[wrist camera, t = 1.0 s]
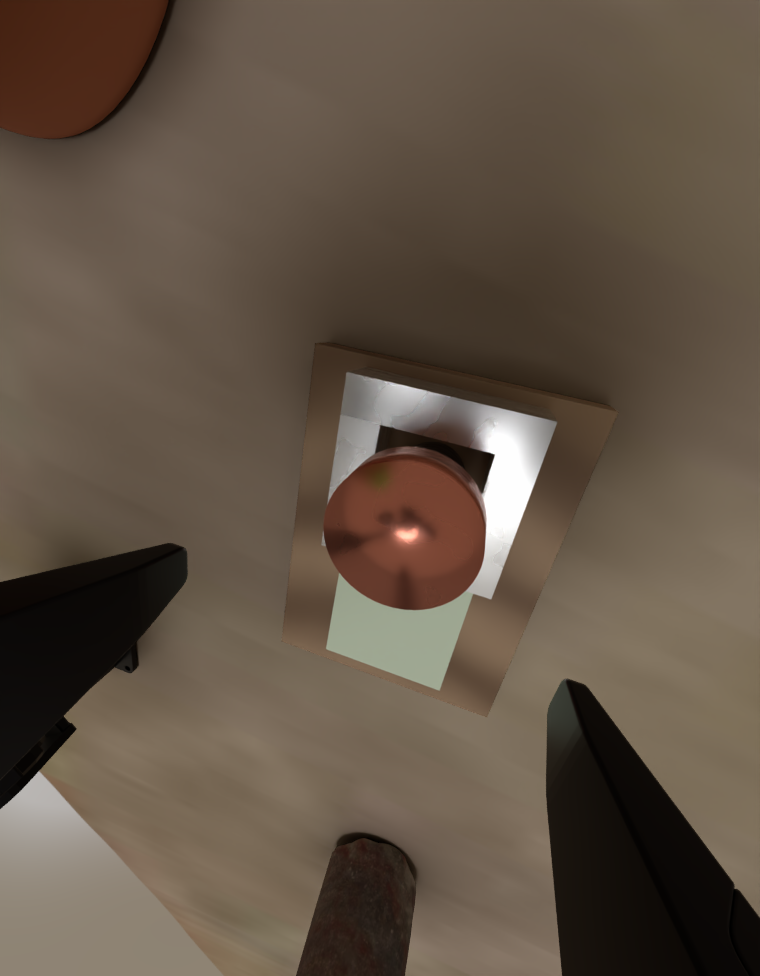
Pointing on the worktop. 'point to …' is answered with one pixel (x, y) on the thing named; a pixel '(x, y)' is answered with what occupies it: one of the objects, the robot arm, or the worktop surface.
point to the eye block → (456, 419)
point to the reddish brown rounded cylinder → (408, 527)
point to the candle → (361, 914)
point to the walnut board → (545, 517)
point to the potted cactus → (70, 61)
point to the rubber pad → (396, 634)
